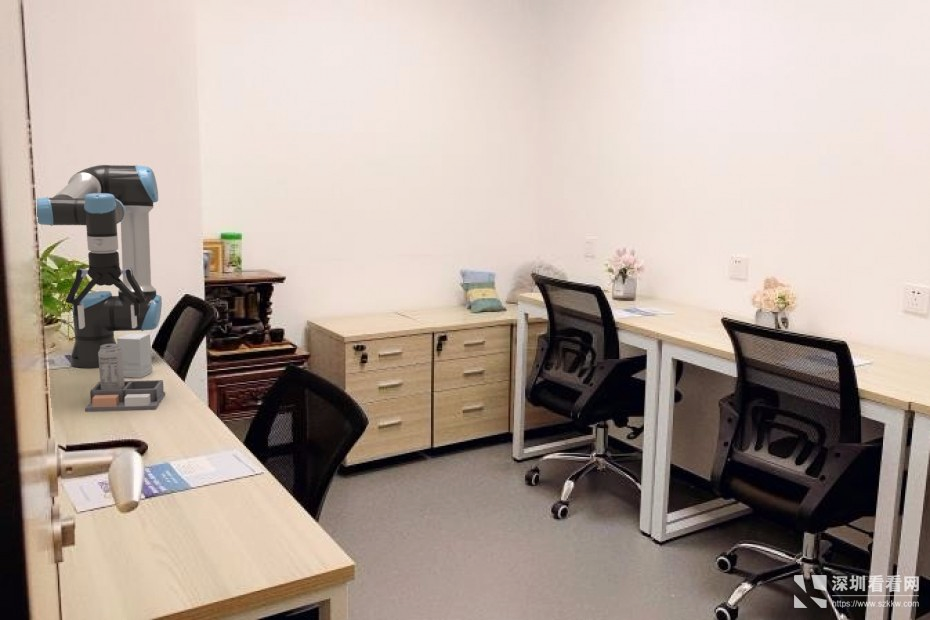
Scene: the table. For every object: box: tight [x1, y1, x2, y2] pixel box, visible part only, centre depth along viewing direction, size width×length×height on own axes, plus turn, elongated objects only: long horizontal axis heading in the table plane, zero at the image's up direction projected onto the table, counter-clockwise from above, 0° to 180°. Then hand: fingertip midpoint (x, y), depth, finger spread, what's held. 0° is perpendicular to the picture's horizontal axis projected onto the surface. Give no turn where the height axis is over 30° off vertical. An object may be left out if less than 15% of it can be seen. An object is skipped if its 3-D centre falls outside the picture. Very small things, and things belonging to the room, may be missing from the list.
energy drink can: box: [98, 343, 125, 390], centre depth 214 cm, size 6×6×15 cm
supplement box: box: [116, 332, 153, 379], centre depth 241 cm, size 7×7×13 cm
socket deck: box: [84, 379, 166, 412], centre depth 214 cm, size 13×18×4 cm
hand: (108, 327), depth 212 cm, fingers open, 13 cm apart
